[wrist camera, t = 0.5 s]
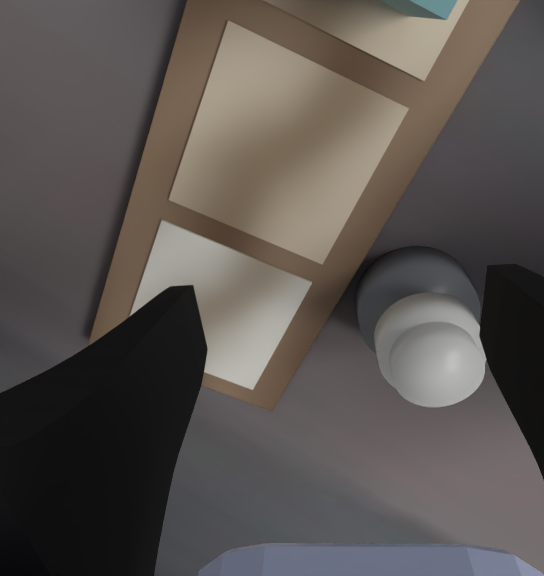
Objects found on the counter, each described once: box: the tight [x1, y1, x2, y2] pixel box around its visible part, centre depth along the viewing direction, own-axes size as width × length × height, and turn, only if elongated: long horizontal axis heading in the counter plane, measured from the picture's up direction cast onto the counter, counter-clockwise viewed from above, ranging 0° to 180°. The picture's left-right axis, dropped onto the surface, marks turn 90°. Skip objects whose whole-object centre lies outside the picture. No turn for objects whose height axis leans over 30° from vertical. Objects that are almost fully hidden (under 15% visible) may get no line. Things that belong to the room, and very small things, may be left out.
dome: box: [374, 292, 487, 407], centre depth 18 cm, size 4×4×2 cm
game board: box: [88, 0, 520, 411], centre depth 19 cm, size 10×25×1 cm, turn 157°
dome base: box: [356, 246, 481, 353], centre depth 21 cm, size 5×5×2 cm
